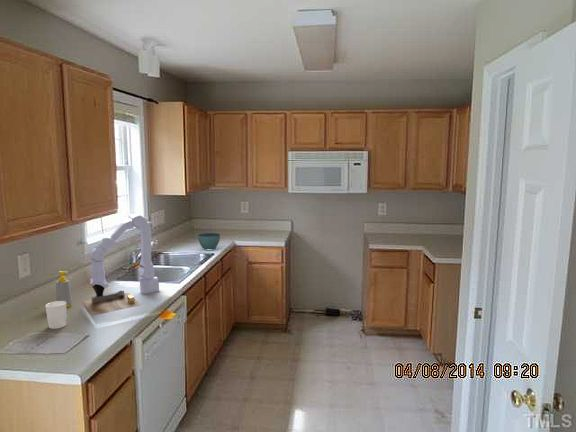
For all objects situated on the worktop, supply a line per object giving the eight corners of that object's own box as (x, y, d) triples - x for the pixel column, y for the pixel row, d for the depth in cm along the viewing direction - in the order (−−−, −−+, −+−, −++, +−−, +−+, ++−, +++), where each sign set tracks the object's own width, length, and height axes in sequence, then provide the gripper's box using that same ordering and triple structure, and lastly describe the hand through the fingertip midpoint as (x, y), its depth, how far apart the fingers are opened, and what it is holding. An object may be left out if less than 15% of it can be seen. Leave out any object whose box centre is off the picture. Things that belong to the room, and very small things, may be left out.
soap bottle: (65, 309, 195) (62, 273, 193) (53, 308, 196) (50, 272, 194) (75, 304, 202) (73, 269, 200) (63, 303, 203) (61, 269, 201)
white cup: (71, 324, 176) (69, 303, 175) (52, 331, 169) (50, 308, 168) (62, 321, 180) (60, 299, 179) (43, 326, 174) (41, 304, 173)
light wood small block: (132, 300, 203) (132, 294, 203) (134, 302, 200) (134, 297, 199) (127, 301, 201) (127, 295, 201) (129, 303, 198) (129, 298, 198)
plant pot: (213, 246, 345) (213, 232, 343) (224, 249, 331) (224, 234, 329) (194, 249, 333) (193, 234, 332) (204, 252, 319) (204, 237, 318)
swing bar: (123, 295, 209) (123, 289, 209) (125, 296, 207) (125, 291, 207) (91, 301, 199) (90, 296, 199) (93, 303, 197) (92, 297, 197)
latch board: (128, 295, 215) (128, 292, 215) (141, 308, 196) (141, 304, 196) (83, 304, 202) (82, 300, 202) (92, 318, 183) (92, 315, 183)
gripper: (83, 271, 202) (85, 297, 203) (97, 276, 193) (99, 303, 194) (97, 268, 207) (99, 294, 209) (111, 273, 198) (113, 299, 200)
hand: (100, 298), depth 202 cm, fingers closed, pressing on swing bar
